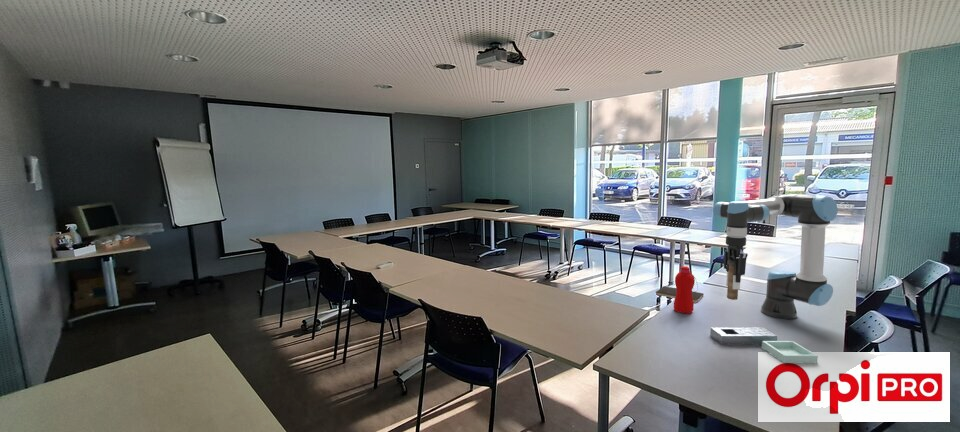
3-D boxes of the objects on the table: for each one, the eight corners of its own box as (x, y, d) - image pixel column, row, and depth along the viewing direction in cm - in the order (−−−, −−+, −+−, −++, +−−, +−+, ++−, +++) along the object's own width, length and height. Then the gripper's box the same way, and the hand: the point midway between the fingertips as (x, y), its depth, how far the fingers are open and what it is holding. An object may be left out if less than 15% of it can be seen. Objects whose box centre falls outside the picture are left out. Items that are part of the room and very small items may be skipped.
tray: (792, 347, 166) (792, 341, 166) (817, 362, 153) (817, 355, 153) (761, 347, 167) (762, 341, 166) (783, 362, 154) (784, 355, 154)
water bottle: (695, 316, 203) (697, 270, 199) (672, 311, 209) (674, 267, 206) (697, 310, 210) (700, 266, 207) (675, 306, 216) (677, 263, 213)
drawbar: (762, 335, 178) (763, 327, 178) (776, 344, 169) (777, 336, 169) (710, 335, 179) (710, 327, 179) (721, 344, 170) (721, 336, 170)
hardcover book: (696, 303, 221) (696, 300, 221) (655, 295, 237) (655, 291, 237) (703, 296, 233) (703, 293, 233) (663, 289, 248) (663, 285, 248)
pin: (734, 296, 175) (736, 259, 172) (741, 300, 169) (744, 261, 167) (722, 296, 175) (725, 259, 173) (729, 300, 170) (732, 262, 167)
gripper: (716, 233, 177) (713, 281, 180) (739, 240, 160) (736, 293, 163) (733, 232, 177) (729, 281, 180) (757, 239, 160) (754, 293, 163)
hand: (732, 287), depth 171 cm, fingers closed on pin, 4 cm apart
